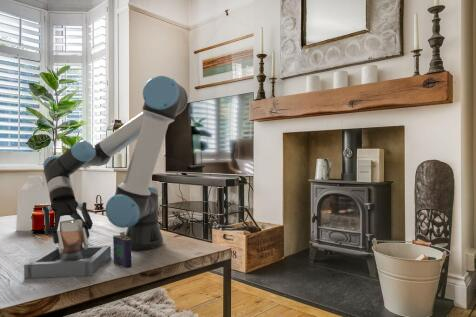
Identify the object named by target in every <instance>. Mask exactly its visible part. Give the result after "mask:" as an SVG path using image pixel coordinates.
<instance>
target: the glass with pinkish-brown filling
mask: <svg viewBox="0 0 476 317" xmlns="http://www.w3.org/2000/svg"><path fill="white" fill-rule="evenodd" d="M59 231H60V232H61V237H62V242H63V246H64V250H63V253H61V254H60V261H78V260H80V259H82V258H83V246H84V245H83V228H82V220H74V219H68V220H62V221H59Z"/></svg>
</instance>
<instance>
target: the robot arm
mask: <svg viewBox="0 0 476 317" xmlns="http://www.w3.org/2000/svg"><path fill="white" fill-rule="evenodd" d="M142 98H143V101H144V102H143V105H142V108H141V111H142V112H140V113H139V114H136V116H135V117H133V118H131V119H130V120H129V121H127V122H125V123H124V124H123V125H122V126H120V127H118V128H117V129H116V130H114V131H113V132H112V133H110V134H109V135H107V136H106V137H104V138H103V139H102V140H101V139H100V141H98V142H97V143H96V144H94V145H92V143H90V142H89V141H87V140H84V139H83V140H79V141H78V142H76V143H74V144H73V145H72V146H71V147H69V149H67V150H66V151H65V152H63V153H62V154H60V155H56V154H55V155H51V156H48V157H46V158H45V159H44V161H43V163H42V164H43V165H42V166H43V175H44V177H45V180H46V184H47V186H48V192H49V197H50V202H51V205H50V206H48V207H47V206H43V208H42V214H43V215H44V225H45V229H44V235H45V236H49V235H50V236H51V238H52V241H53V243H54V245H57V247H59V252H60V254H61V253H63V250H64V246H63V242H62V237H61V232H60V230H58V229H59V226H60V222H61V221H60V220H61V217H65V216H69V217H71V218H72V220H82V228H83V246H84V249H87V248H88V246H90V243H89V239H90V238H89V237H90V231H89V230H92V227H93V220H92V219H91V216H90V213H89V211H88V208H87V204H88V203H87V202H82V203H79V201H77V200H76V197H75V192H74V189H73V188H74V187H73V185H72V182H71V178H70V177H71V176H72V175H73V174H74V173H75V172H77V171H78V170H79V169H80V168H82V167H101V166H105V165H106V164H108V163H109V162H110V160H111V158H113V157H114V156H115V155H116V154H118V153H120V152H121V151H122V150H124V149H125V148H127V147H128V146H129V145H131V144H133V143H134V142H136V143H135V145H134V149H133V151H132V155H131V158H130V162H129V164H128V167H127V171H126V174H125V177H124V180H123V181H122V182H119V183H118V184H117V187H116V190H115V194H114V195H112V196H111V197H110V198H109V200H107V203H106V205H105V215H106V217H107V219H108V221H109V222H110V223H111V224H112V225H113V226H115V227H116V228H117V227H118V228H124V229H125V228H127V229H126V231H125V232H126V233H125V235H126V237H129V238H130V239H131V251H145V250H152V249H156V248H159V247H161V246H163V244H164V238H163V234H162V232H161V228H160V225H159V197H160V196H159V190H158V188H157V187H154V186H153V187H152V186H150V183H151V180H152V177H153V173H154V171H155V167H156V165H157V162H158V159H159V155H160V152H161V149H162V146H163V143H164V140H165V137H166V134H167V130H168V127H169V125H170V124H171V123H174V122H175V121H176V117H177V116H178V115H180V114H181V113H183V111H184V110H185V109H186V108H187V106H188V103H189V97H188V93H187V91H186V89H185V88H184V87H183V86H181V84H179V83H178V82H177V81H176V80H174V79H173V78H171V77H169V76H165V75H156V76H153V77H152V78H150V79H148V80H147V81H146V83H145V84H144V86H143V89H142ZM77 209H79V211H80V212H81V215H82V216H81V215H80V214H79V212H78V210H77ZM50 210H52V211H53V212H54V214H56V217H55V219H54V223H55V224H54V227H52V228H50V215H49V213H50Z"/></svg>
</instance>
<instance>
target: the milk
mask: <svg viewBox="0 0 476 317" xmlns="http://www.w3.org/2000/svg"><path fill="white" fill-rule="evenodd" d="M46 203H51V202H50V197H49V192H48V186H47V182H45V181H44V178H43V176H42V175H37V176H36V175H29V176H28V178H27V181H26V182H25V183H24V185H23V186H22V187H21V188H20V189H19V190H18V193H17V203H16V204H17V206H16V208H17V209H16V222H15V224H16V225H15V226H16V227H15V231H16V232H20V231H21V232H32V231H31V230H32V219H31V216H32V212H33V210H34V209H33V208H34V206H35V205H37V204H38V205H40V204H46Z"/></svg>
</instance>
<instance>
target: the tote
mask: <svg viewBox="0 0 476 317" xmlns="http://www.w3.org/2000/svg"><path fill="white" fill-rule="evenodd" d="M111 248H112V245H109V244H108V245H88V248H87V249H84V245H83V258H82V259H80V260H78V261H60V252H59V247H58V246H54V247H52V248H50V249H49V250H47V251H45V252H44V253H42V254H40V255H38V256H37V257H34V258H33V259H30V261H28V262H26V263H24V264H23V275H24V276H23V278H24V279H44V278H46V279H47V277H50V278H66V277H65V276H75V277H93V276H94V275H93V274H94V273H97V272H98V271H99V269H101V267H102V266H104V265H105V263H107V261H109V260H110V259H111V257H112V249H111ZM92 275H93V276H92Z"/></svg>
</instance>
